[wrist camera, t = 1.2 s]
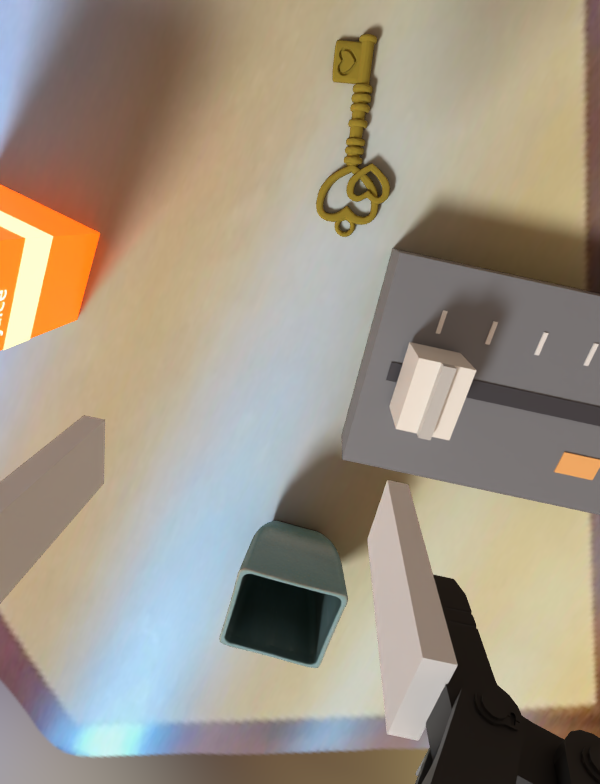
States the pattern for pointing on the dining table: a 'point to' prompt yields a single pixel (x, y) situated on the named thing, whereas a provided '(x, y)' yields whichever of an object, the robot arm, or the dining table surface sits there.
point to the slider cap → (430, 391)
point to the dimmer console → (488, 381)
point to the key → (355, 133)
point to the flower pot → (286, 595)
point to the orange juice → (40, 268)
